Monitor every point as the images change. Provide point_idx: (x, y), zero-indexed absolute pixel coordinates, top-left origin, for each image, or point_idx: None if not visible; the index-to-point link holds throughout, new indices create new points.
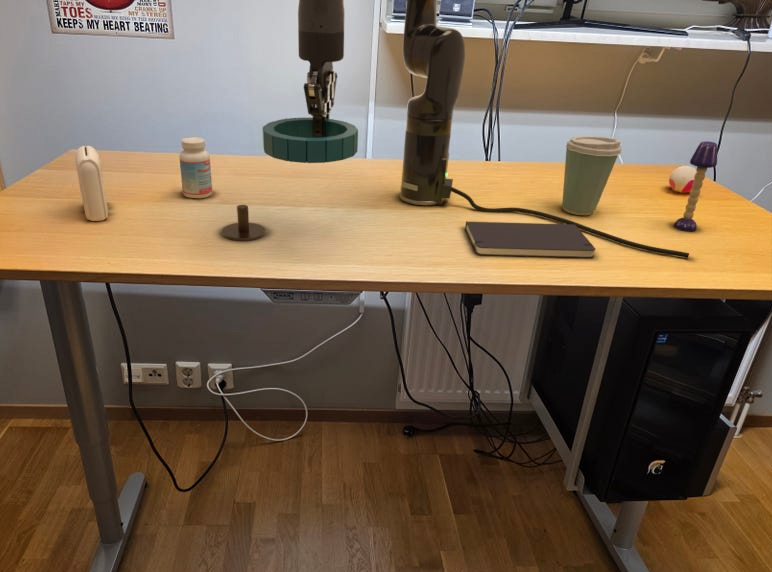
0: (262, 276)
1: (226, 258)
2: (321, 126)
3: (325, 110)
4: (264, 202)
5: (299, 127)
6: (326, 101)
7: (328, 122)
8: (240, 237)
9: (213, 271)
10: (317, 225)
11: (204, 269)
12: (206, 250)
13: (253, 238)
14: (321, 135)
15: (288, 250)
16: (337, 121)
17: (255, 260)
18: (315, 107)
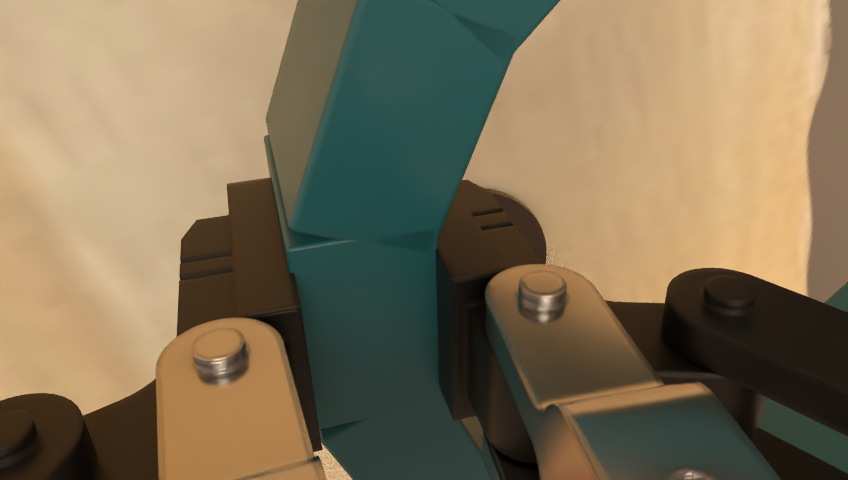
0: (818, 28)
1: (690, 204)
2: (518, 235)
3: (560, 322)
4: (85, 366)
5: (476, 426)
6: (700, 397)
7: (448, 202)
8: (537, 246)
9: (786, 189)
10: (252, 22)
11: (773, 219)
12: (639, 287)
13: (523, 205)
14: (476, 188)
15: (586, 34)
16: (412, 90)
17: (694, 110)
18: (742, 427)
